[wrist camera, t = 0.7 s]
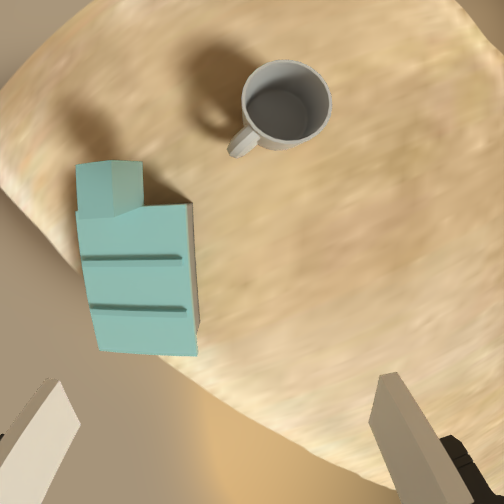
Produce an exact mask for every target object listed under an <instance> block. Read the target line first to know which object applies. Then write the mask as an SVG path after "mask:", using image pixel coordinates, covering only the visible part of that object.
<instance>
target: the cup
mask: <svg viewBox="0 0 504 504" xmlns="http://www.w3.org/2000/svg"><path fill="white" fill-rule="evenodd" d="M241 98H242V118H243V125H244V127H243V128H242V129H241V130H240V131H239V132H238V133H237V134H236V135H235V136H234V137H233V138H232V140H231V141H230V143H229V145H228V148H227V150H228V153H229V155H230V156H231V157H234V158H239V157H242V156H244V155H245V154H247V153H248V152H249V151H250V150H251V149H253V148H254V147H255V146H256V145H257V144H258V145H259V146H262V147H264V148H266V149H270V150H275V151H277V150H287V149H290V148H293V147H295V146H297V145H300V144H302V143H304V142H306V141H308V140H310V139H311V138H313V137H315V136H316V135H318V134H319V133H320V132H321V131H322V130H323V128H324V127H325V126H326V125H327V122H328V120H329V118H330V116H331V111H332V98H331V93H330V90H329V88H328V85H327V83H326V82H325V81H324V79H323V78H322V77H321V75H320V74H319V73H317V72H316V71H315V70H314V69H313V68H311V67H309V66H307V65H305V64H303V63H301V62H297V61H293V60H276V61H272V62H268V63H266V64H264V65H262V66H260V67H259V68H257V69H256V70H255V71H254V72H253V73H252V74H251V75H250V76H249V77H248V79H247V81H246V83H245V85H244V87H243V92H242V97H241Z"/></svg>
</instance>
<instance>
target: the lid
mask: <svg viewBox="0 0 504 504" xmlns="http://www.w3.org/2000/svg"><path fill="white" fill-rule="evenodd" d="M76 187H77V203H78V211H75V212H76V223H77V232H78V241H79V249H80V256H81V263H82V269H83V276H84V281H85V287H86V293H87V298H88V303H89V308H90V313H91V317H92V322H93V326H94V330H95V335H96V339H97V343H98V347H99V350H100V351H109V352H120V353H133V354H150V355H168V356H197V355H198V346H197V336H196V327H195V316H194V305H193V293H192V281H191V267H190V252H189V235H188V215H187V204H168V205H148V206H144V192H143V165H142V162H139V161H122V160H107V161H99V162H92V163H85V164H78V165H76Z"/></svg>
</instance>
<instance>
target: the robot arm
mask: <svg viewBox="0 0 504 504" xmlns="http://www.w3.org/2000/svg"><path fill="white" fill-rule="evenodd" d="M368 423H369V425H370V427H371V430H372V432H373V434H374V437H375V439H376V441H377V444H378V446H379V449H380V451H381V453H382V456H383V458H384V461H385V463H386V466H387V468H388V470H389V473H390V475H391V478H392V480H393V483H394V485H395V488H396V490H397V493H398V496H399V498H400V501H401V503H402V504H504V496H501V495H495V494H494V493H493V492H492V491H491V489H490V488H489V486H488V484H487V483H486V481H485V479H484V478H483V476H482V474H481V473H480V471H479V469H478V468H477V466H476V465H475V463H473V460H472V458H471V457H470V455H468V452H467V450H466V449H465V447H464V446H463V444H462V442H460V441H459V440H458V439H456V438H455V437H453V436H452V435H449V436H446V437H443V438H440V439H439V438H438V437H437V435H436V433H435V432H434V430H433V428H432V427H431V425H430V423H429V422H428V420H427V419H426V417H425V415H424V414H423V412H422V411H421V409H420V407H419V406H418V404H417V403H416V401H415V399H414V398H413V396H412V395H411V393H410V392H409V390H408V388H407V387H406V385H405V384H404V382H403V381H402V379H401V378H400V376H399V375H398V373H397V372H394V373H389V374H384V375H380V376H379V381H378V385H377V390H376V394H375V398H374V402H373V407H372V411H371V414H370V418H369V422H368ZM80 425H81V424H80V422H79V420H78V418H77V416H76V414H75V412H74V410H73V408H72V406H71V404H70V402H69V400H68V398H67V396H66V393H65V391H64V389H63V387H62V384H61V382H60V380H55V379H49V378H47V379H46V380H45V381H44V382H43V384H42V385H41V386H40V387H39V389H38V390H37V391H36V393H35V394H34V395H33V397H32V398H31V399H30V401H29V402H28V403H27V404H26V406H25V407H24V409H23V410H22V411H21V413H20V414H19V415H18V417H17V418H16V420H15V421H14V422H13V424H12V425H11V426H10V428H9V429H8V431H7V432H6V433H5V434H1V435H0V504H41V503H42V501H43V499H44V497H45V494H46V492H47V490H48V488H49V486H50V484H51V482H52V480H53V478H54V476H55V474H56V472H57V470H58V467H59V465H60V463H61V461H62V460H63V457H64V456H65V454H66V452H67V450H68V448H69V446H70V444H71V442H72V440H73V438H74V436H75V434H76V432H77V431H78V429H79V427H80Z"/></svg>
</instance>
